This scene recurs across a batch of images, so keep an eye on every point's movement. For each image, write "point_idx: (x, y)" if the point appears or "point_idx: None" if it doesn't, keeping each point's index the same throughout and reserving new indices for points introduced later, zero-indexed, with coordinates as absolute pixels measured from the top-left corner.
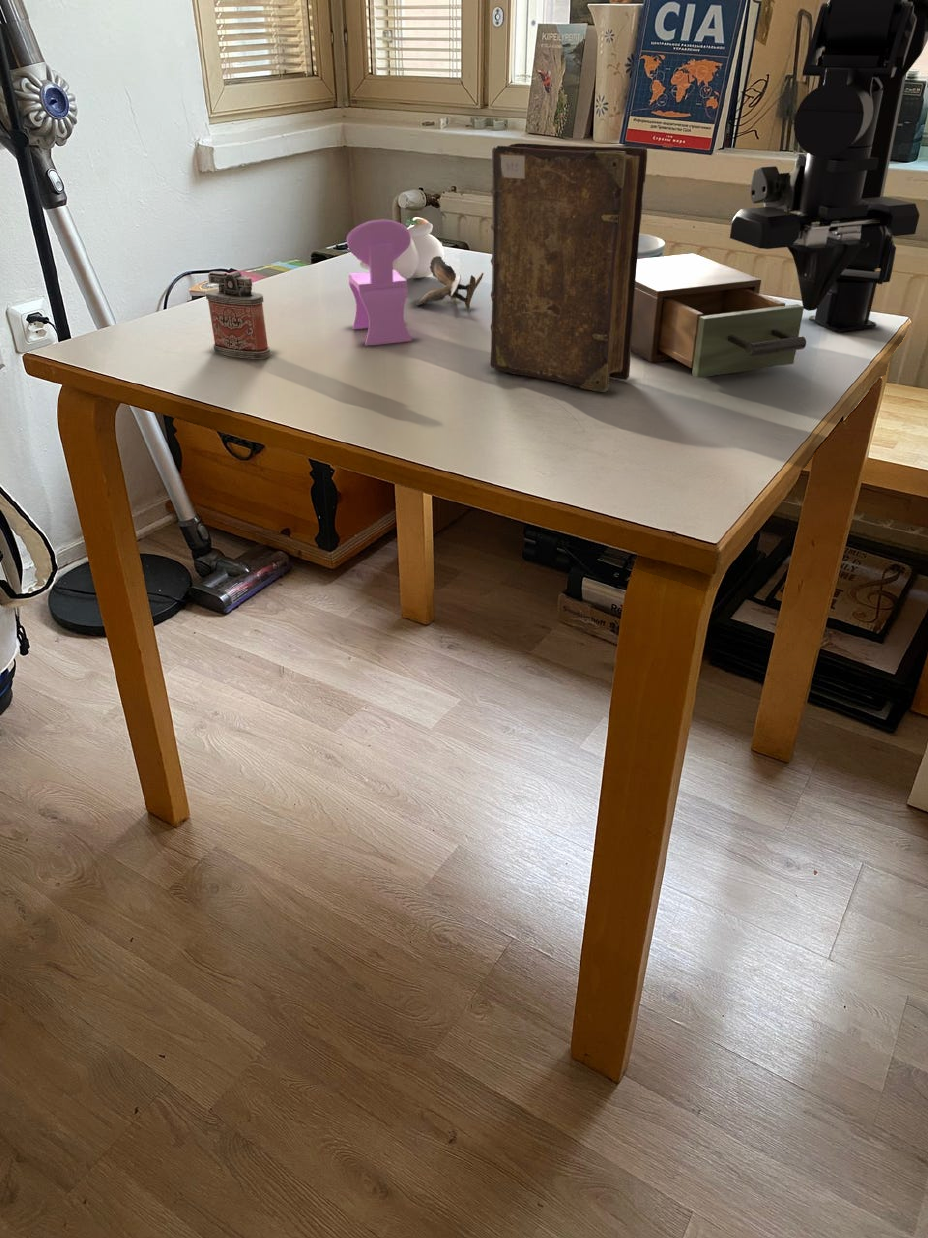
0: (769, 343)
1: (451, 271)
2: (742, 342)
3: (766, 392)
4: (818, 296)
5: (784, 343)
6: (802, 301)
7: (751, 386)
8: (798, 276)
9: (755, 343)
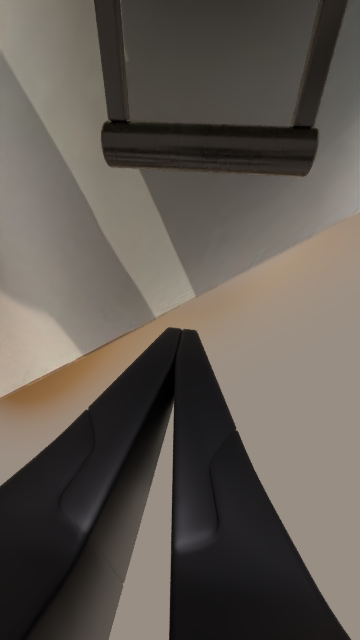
0: (165, 163)
1: None
2: (103, 77)
3: None
4: (172, 406)
5: (220, 170)
6: (157, 340)
7: (197, 80)
8: (90, 409)
9: (117, 151)
